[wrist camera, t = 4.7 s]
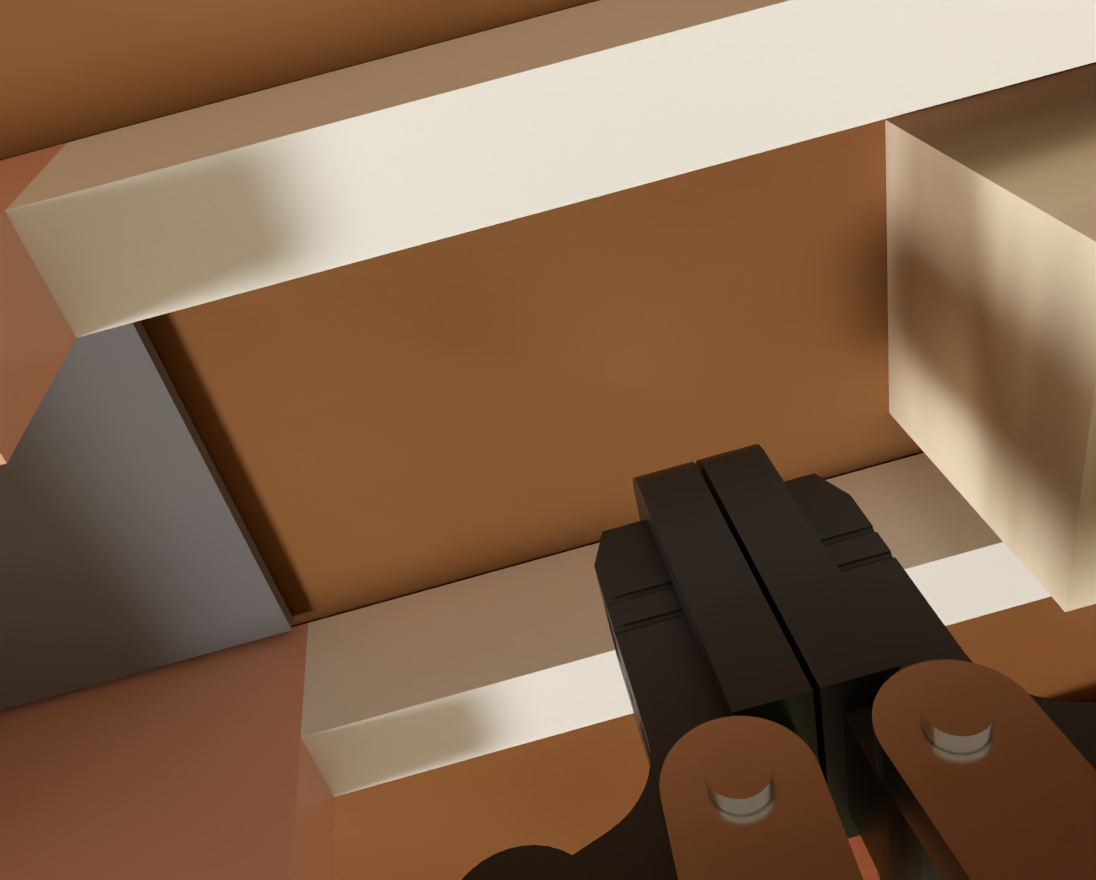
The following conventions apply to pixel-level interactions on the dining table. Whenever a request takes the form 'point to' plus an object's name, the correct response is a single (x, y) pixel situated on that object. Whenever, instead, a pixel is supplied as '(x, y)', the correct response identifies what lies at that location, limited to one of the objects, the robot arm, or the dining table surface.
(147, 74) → the dining table surface
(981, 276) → the block
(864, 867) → the potted cactus
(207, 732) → the rail channel
